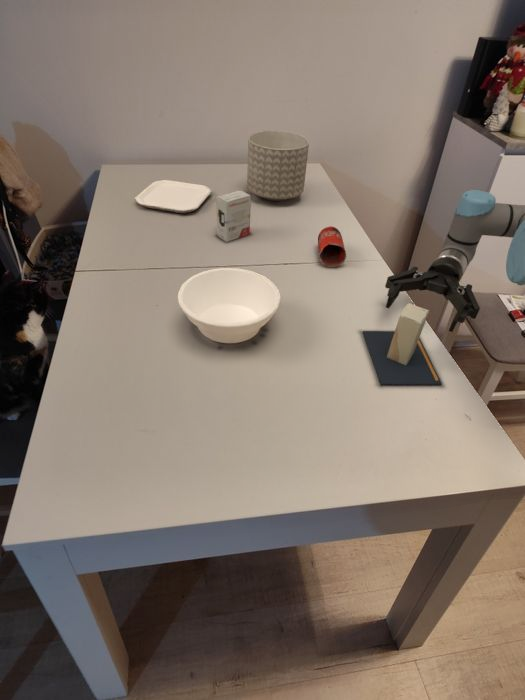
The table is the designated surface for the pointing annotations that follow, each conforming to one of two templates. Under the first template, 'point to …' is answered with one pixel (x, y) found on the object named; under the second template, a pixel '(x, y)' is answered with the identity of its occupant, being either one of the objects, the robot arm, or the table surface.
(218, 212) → the ink box
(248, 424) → the table surface
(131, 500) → the table surface
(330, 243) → the beverage can
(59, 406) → the table surface
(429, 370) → the desk mat
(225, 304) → the bowl
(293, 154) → the planter
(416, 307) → the box
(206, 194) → the plate
